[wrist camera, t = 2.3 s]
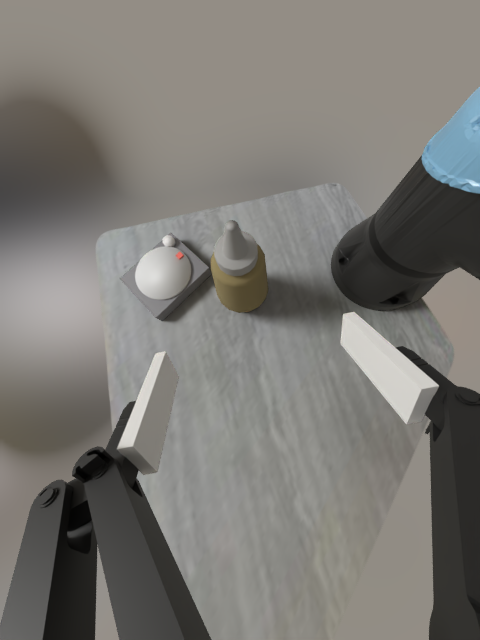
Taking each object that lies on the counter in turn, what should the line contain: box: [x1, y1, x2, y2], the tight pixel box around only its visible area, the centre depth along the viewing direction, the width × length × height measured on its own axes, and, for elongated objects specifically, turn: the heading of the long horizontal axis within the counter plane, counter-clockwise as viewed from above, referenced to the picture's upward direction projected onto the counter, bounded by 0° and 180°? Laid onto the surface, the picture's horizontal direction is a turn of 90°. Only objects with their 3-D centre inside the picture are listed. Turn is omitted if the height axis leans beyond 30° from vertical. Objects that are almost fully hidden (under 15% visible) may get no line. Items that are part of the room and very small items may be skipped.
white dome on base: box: [120, 233, 212, 321], centre depth 35 cm, size 12×10×3 cm
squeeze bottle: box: [211, 220, 268, 313], centre depth 26 cm, size 8×8×18 cm
